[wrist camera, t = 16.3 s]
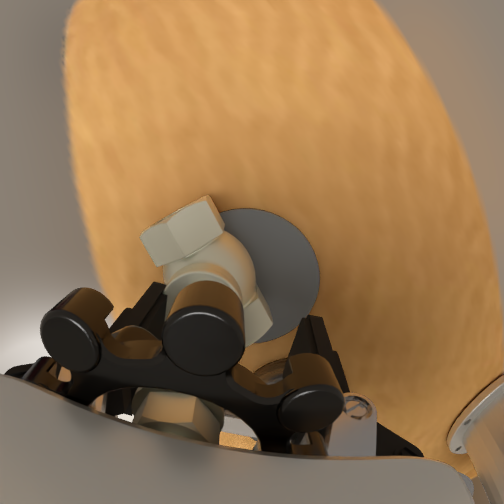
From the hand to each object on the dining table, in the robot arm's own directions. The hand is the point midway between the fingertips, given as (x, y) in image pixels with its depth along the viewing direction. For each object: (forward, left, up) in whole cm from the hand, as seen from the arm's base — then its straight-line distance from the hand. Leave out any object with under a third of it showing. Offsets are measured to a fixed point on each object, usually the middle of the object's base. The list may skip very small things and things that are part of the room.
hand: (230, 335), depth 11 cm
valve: (+2, -1, -5) cm, 6 cm away
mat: (0, 0, -6) cm, 6 cm away
